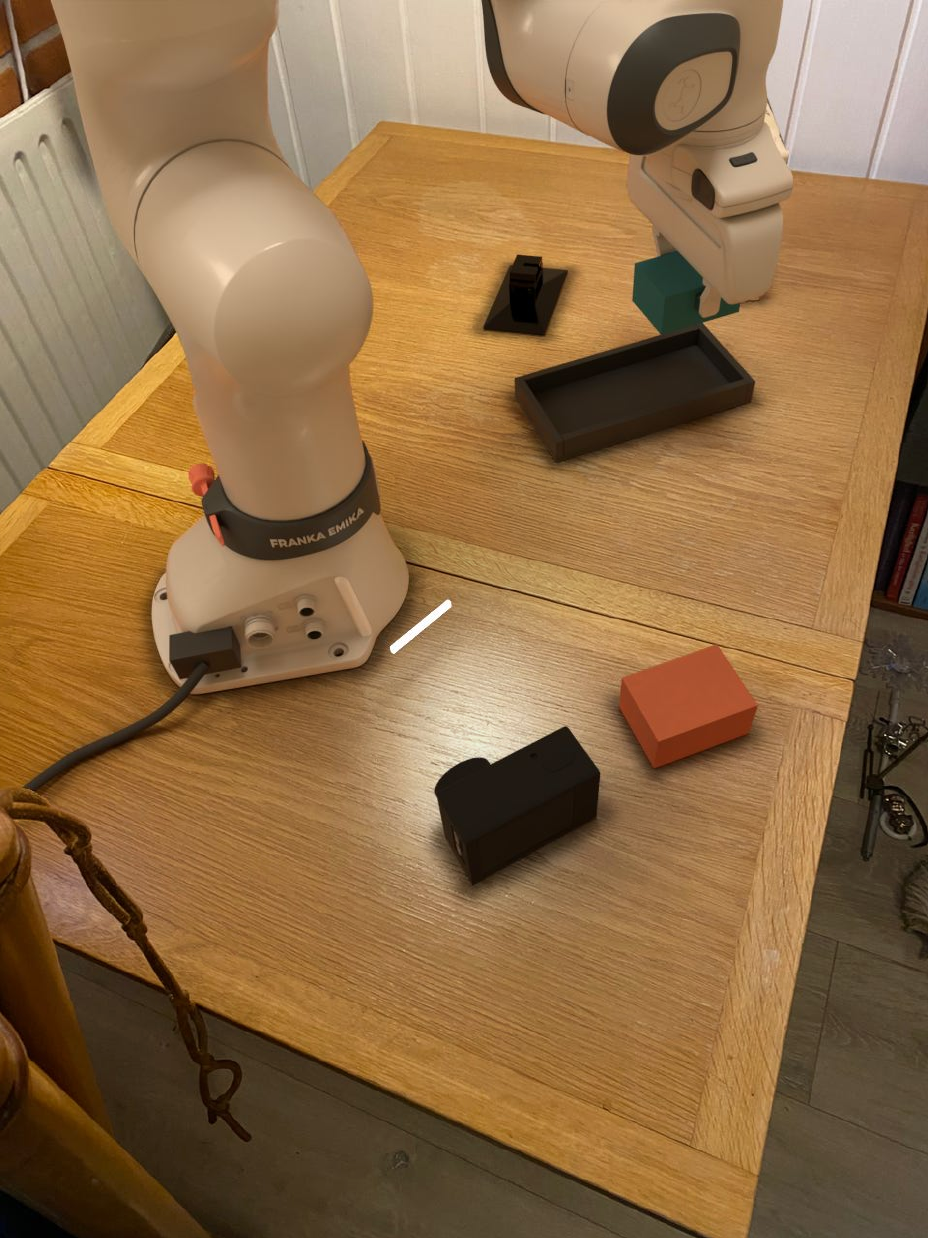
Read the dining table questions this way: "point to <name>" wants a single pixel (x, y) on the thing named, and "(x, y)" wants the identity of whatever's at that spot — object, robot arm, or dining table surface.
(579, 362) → the dark brown tray
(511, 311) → the black flat based block
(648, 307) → the teal block
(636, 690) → the orange rectangular block
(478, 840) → the digital camera
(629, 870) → the dining table surface
